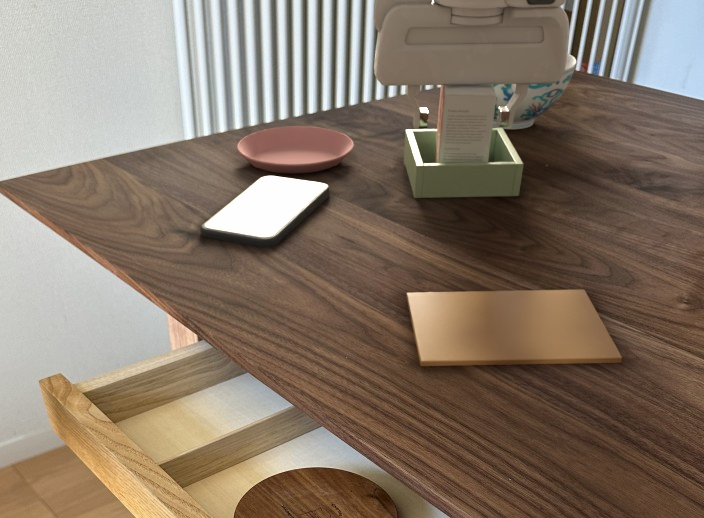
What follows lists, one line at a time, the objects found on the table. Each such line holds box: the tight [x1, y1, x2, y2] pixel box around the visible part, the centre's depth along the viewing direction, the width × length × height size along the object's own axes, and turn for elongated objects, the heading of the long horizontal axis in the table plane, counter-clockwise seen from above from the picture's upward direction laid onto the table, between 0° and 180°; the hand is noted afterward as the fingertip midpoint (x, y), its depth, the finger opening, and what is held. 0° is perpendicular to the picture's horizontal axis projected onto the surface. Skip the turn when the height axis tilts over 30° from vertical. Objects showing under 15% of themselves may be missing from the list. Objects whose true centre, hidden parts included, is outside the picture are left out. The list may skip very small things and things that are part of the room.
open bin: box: [403, 127, 524, 199], centre depth 98 cm, size 12×13×4 cm
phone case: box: [200, 175, 331, 248], centre depth 91 cm, size 9×2×16 cm
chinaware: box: [492, 53, 578, 130], centre depth 113 cm, size 15×15×8 cm
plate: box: [236, 125, 355, 174], centre depth 105 cm, size 14×14×2 cm
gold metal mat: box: [405, 289, 623, 367], centre depth 72 cm, size 16×12×1 cm
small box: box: [434, 84, 496, 163], centre depth 96 cm, size 8×6×10 cm
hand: (462, 126), depth 95 cm, fingers open, 8 cm apart
